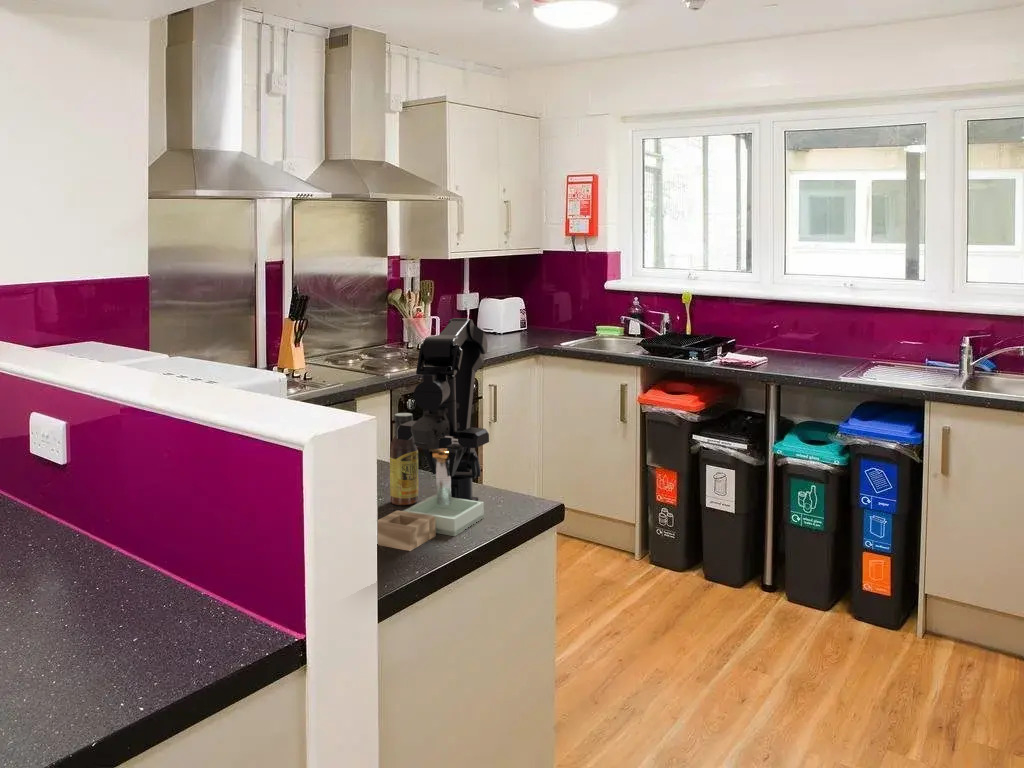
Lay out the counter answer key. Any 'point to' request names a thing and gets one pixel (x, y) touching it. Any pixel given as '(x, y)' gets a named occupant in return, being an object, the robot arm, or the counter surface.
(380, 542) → the block
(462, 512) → the sage tray
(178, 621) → the counter surface
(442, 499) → the orange-capped jar
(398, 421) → the sauce bottle
